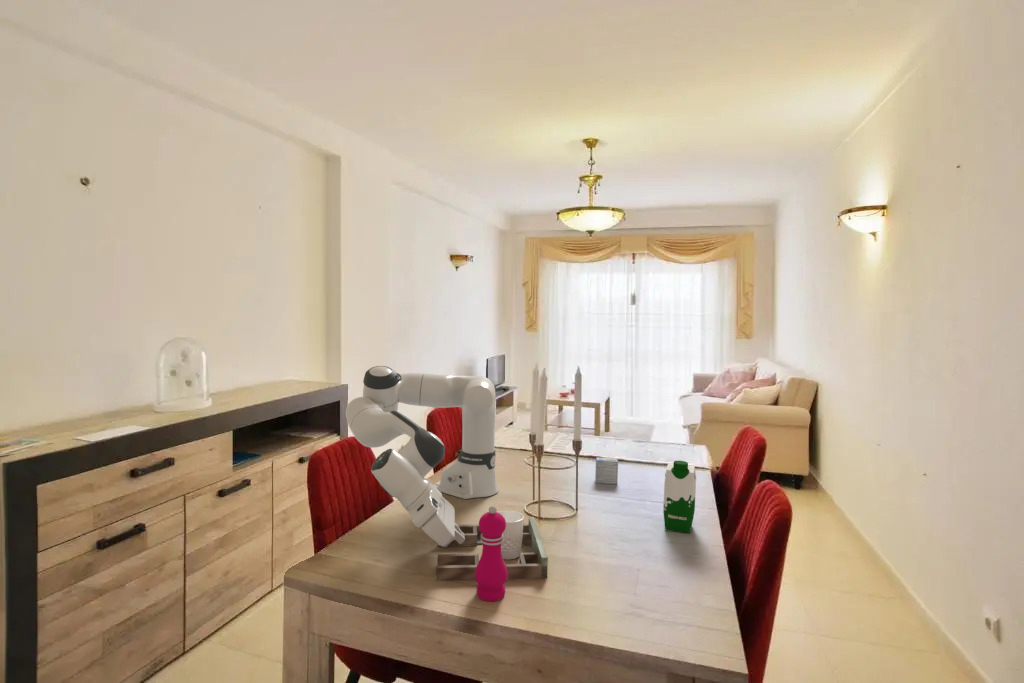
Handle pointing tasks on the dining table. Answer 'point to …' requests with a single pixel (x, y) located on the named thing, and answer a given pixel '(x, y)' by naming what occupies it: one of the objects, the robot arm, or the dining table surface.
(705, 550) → the dining table surface
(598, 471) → the medicine box
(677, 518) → the milk carton
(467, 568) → the organizer tray
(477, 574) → the pepper mill
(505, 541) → the white cup
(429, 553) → the dining table surface
